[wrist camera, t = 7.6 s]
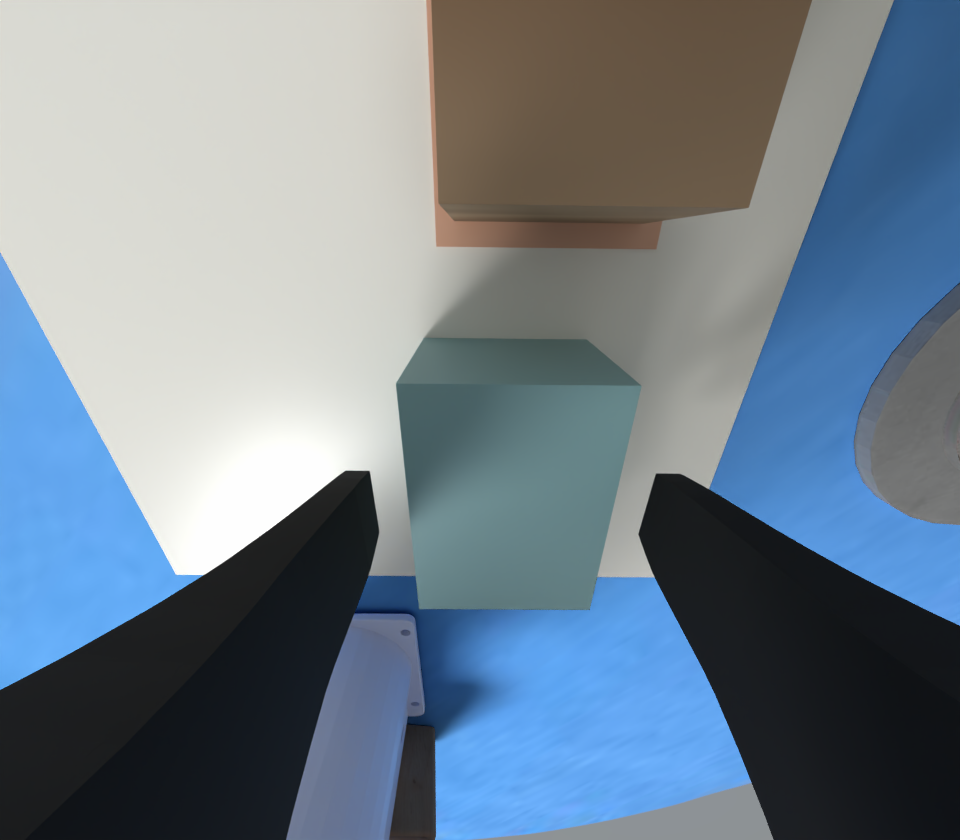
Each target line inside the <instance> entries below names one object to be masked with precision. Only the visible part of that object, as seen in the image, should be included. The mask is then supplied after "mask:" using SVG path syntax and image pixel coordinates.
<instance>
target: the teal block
mask: <svg viewBox="0 0 960 840" xmlns="http://www.w3.org/2000/svg"><path fill="white" fill-rule="evenodd" d="M641 387H642V386H641V385H640V384H639V383H638V382H637V381H635V380H634V379H633V378H632V377H631V376H629V375H628V374H627V373H626V372H625V371H624V370H622V369H621V368H620V367H619V366H618V365H616V364H615V363H614V362H613V361H612V360H611V359H609V358H608V357H607V356H606V355H605V354H603V353H602V352H601V351H600V350H599V349H598V348H596V347H595V346H594V345H593V344H592V343H590V342H589V341H588V340H587V339H495V338H423V340H422V342H421V343H420V345H419V347H418V348H417V350H416V351H415V353H414V355H413V356H412V358H411V360H410V361H409V363H408V364H407V366H406V368H405V369H404V371H403V373H402V374H401V376H400V377H399V379H398V381H397V382H396V391H397V400H398V410H399V420H400V429H401V439H402V449H403V458H404V468H405V478H406V488H407V497H408V507H409V517H410V526H411V536H412V546H413V555H414V565H415V575H416V584H417V594H418V604H419V609H522V610H590V606H591V601H592V597H593V593H594V589H595V584H596V580H597V576H598V571H599V567H600V563H601V559H602V554H603V550H604V546H605V541H606V537H607V533H608V528H609V524H610V520H611V516H612V511H613V507H614V503H615V498H616V494H617V490H618V486H619V481H620V477H621V473H622V468H623V464H624V460H625V456H626V451H627V447H628V443H629V438H630V434H631V430H632V425H633V421H634V417H635V413H636V408H637V404H638V400H639V395H640V391H641Z"/></svg>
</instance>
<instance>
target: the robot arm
mask: <svg viewBox="0 0 960 840" xmlns="http://www.w3.org/2000/svg"><path fill="white" fill-rule="evenodd" d="M638 535H639V538H640V541H641V544H642V546H643V549H644V552H645V555H646V558H647V560H648V563H649V565H650V568H651V570H652V573H653V575H654V577H655V579H656V581H657V583H658V585H659V587H660V589H661V590H662V592H663V594H664V596H665V598H666V600H667V602H668V604H669V606H670V608H671V610H672V612H673V613H674V615H675V617H676V619H677V621H678V623H679V625H680V627H681V629H682V630H683V632H684V634H685V636H686V638H687V640H688V642H689V644H690V646H691V647H692V649H693V651H694V653H695V655H696V657H697V659H698V661H699V663H700V664H701V666H702V668H703V670H704V672H705V674H706V676H707V679H708V681H709V683H710V685H711V687H712V689H713V691H714V693H715V695H716V698H717V700H718V702H719V705H720V707H721V709H722V712H723V714H724V716H725V719H726V721H727V724H728V726H729V728H730V731H731V733H732V735H733V738H734V740H735V742H736V745H737V747H738V749H739V752H740V754H741V757H742V759H743V762H744V765H745V767H746V770H747V772H748V775H749V777H750V780H751V782H752V785H753V787H754V790H755V792H756V795H757V797H758V800H759V802H760V804H761V807H762V809H763V812H764V815H765V817H766V820H767V823H768V826H769V828H770V831H771V834H772V836H773V839H774V840H960V626H959V625H957V624H955V623H953V622H950V621H948V620H946V619H944V618H942V617H940V616H938V615H935V614H933V613H931V612H929V611H927V610H925V609H923V608H921V607H919V606H917V605H915V604H913V603H911V602H909V601H907V600H905V599H903V598H901V597H899V596H897V595H895V594H893V593H891V592H889V591H887V590H885V589H883V588H881V587H879V586H877V585H875V584H873V583H871V582H869V581H867V580H865V579H863V578H861V577H860V576H858V575H856V574H854V573H852V572H850V571H848V570H846V569H844V568H843V567H841V566H839V565H837V564H835V563H834V562H832V561H830V560H828V559H826V558H825V557H823V556H821V555H819V554H817V553H816V552H814V551H812V550H810V549H808V548H807V547H805V546H803V545H801V544H800V543H798V542H796V541H794V540H793V539H791V538H789V537H787V536H786V535H784V534H782V533H781V532H779V531H777V530H776V529H774V528H772V527H770V526H769V525H767V524H765V523H764V522H762V521H760V520H759V519H757V518H755V517H754V516H752V515H750V514H749V513H747V512H746V511H744V510H742V509H741V508H739V507H737V506H736V505H734V504H732V503H731V502H729V501H727V500H726V499H724V498H722V497H721V496H719V495H717V494H716V493H714V492H712V491H711V490H709V489H707V488H706V487H704V486H702V485H701V484H699V483H697V482H695V481H693V480H692V479H690V478H688V477H686V476H684V475H682V474H668V473H656V475H655V478H654V482H653V485H652V488H651V492H650V495H649V499H648V502H647V506H646V509H645V513H644V516H643V519H642V523H641V526H640V530H639V533H638ZM378 537H379V525H378V519H377V513H376V507H375V500H374V494H373V488H372V482H371V475H370V471H344V472H343V473H341V474H340V475H339V476H337V477H336V478H335V479H333V480H332V481H331V482H330V483H328V484H327V485H326V486H325V487H323V488H322V489H321V490H320V491H318V492H317V493H316V494H315V495H313V496H312V497H311V498H309V499H308V500H307V501H306V502H304V503H303V504H302V505H301V506H299V507H298V508H297V509H295V510H294V511H293V512H292V513H290V514H289V515H288V516H286V517H285V518H284V519H283V520H281V521H280V522H279V523H277V524H276V525H275V526H273V527H272V528H271V529H269V530H268V531H266V532H265V533H264V534H262V535H261V536H259V537H258V538H257V539H255V540H254V541H252V542H251V543H250V544H248V545H247V546H246V547H244V548H243V549H241V550H240V551H239V552H237V553H236V554H234V555H233V556H232V557H230V558H229V559H227V560H226V561H224V562H223V563H221V564H220V565H218V566H217V567H215V568H214V569H212V570H211V571H209V572H208V573H206V574H205V575H203V576H202V577H200V578H199V579H197V580H195V581H194V582H192V583H191V584H189V585H187V586H186V587H184V588H183V589H181V590H179V591H178V592H176V593H175V594H173V595H171V596H170V597H168V598H167V599H165V600H163V601H162V602H160V603H158V604H157V605H155V606H153V607H152V608H150V609H148V610H147V611H145V612H143V613H141V614H139V615H138V616H136V617H134V618H132V619H131V620H129V621H127V622H125V623H124V624H122V625H120V626H118V627H116V628H115V629H113V630H111V631H109V632H108V633H106V634H104V635H102V636H100V637H99V638H97V639H95V640H93V641H92V642H90V643H88V644H86V645H84V646H83V647H81V648H79V649H77V650H76V651H74V652H72V653H70V654H68V655H67V656H65V657H63V658H61V659H59V660H57V661H55V662H53V663H51V664H50V665H48V666H46V667H44V668H42V669H40V670H38V671H36V672H34V673H32V674H30V675H28V676H27V677H25V678H23V679H21V680H19V681H17V682H15V683H13V684H11V685H9V686H7V687H5V688H3V689H1V690H0V840H389V837H390V830H391V823H392V817H393V810H394V804H395V797H396V791H397V784H398V777H399V771H400V764H401V758H402V751H403V745H404V738H405V731H406V725H407V718H408V716H421V715H423V714H424V711H425V701H424V692H423V683H422V674H421V666H420V657H419V648H418V639H417V630H416V621H415V618H414V617H413V616H412V615H409V614H354V613H355V610H356V608H357V605H358V602H359V600H360V597H361V594H362V592H363V589H364V586H365V584H366V581H367V578H368V575H369V572H370V570H371V566H372V562H373V558H374V554H375V550H376V545H377V541H378Z"/></svg>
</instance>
